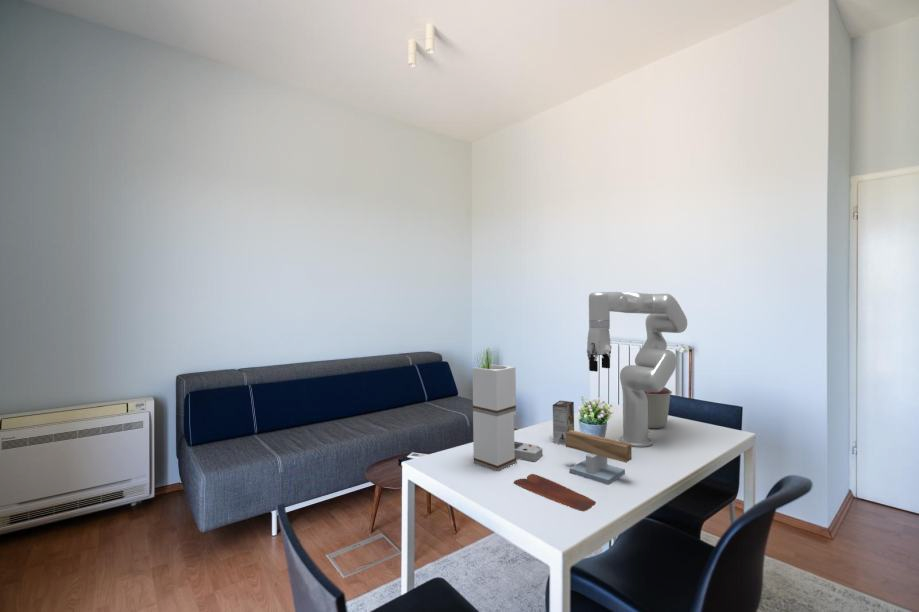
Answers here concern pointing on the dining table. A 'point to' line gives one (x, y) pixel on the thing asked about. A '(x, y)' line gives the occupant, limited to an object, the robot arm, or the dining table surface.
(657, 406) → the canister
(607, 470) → the ridge stand
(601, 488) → the dining table surface
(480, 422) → the tall square planter
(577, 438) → the walnut batten
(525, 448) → the handheld gaming device
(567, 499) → the wooden tablet
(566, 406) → the coffee box
